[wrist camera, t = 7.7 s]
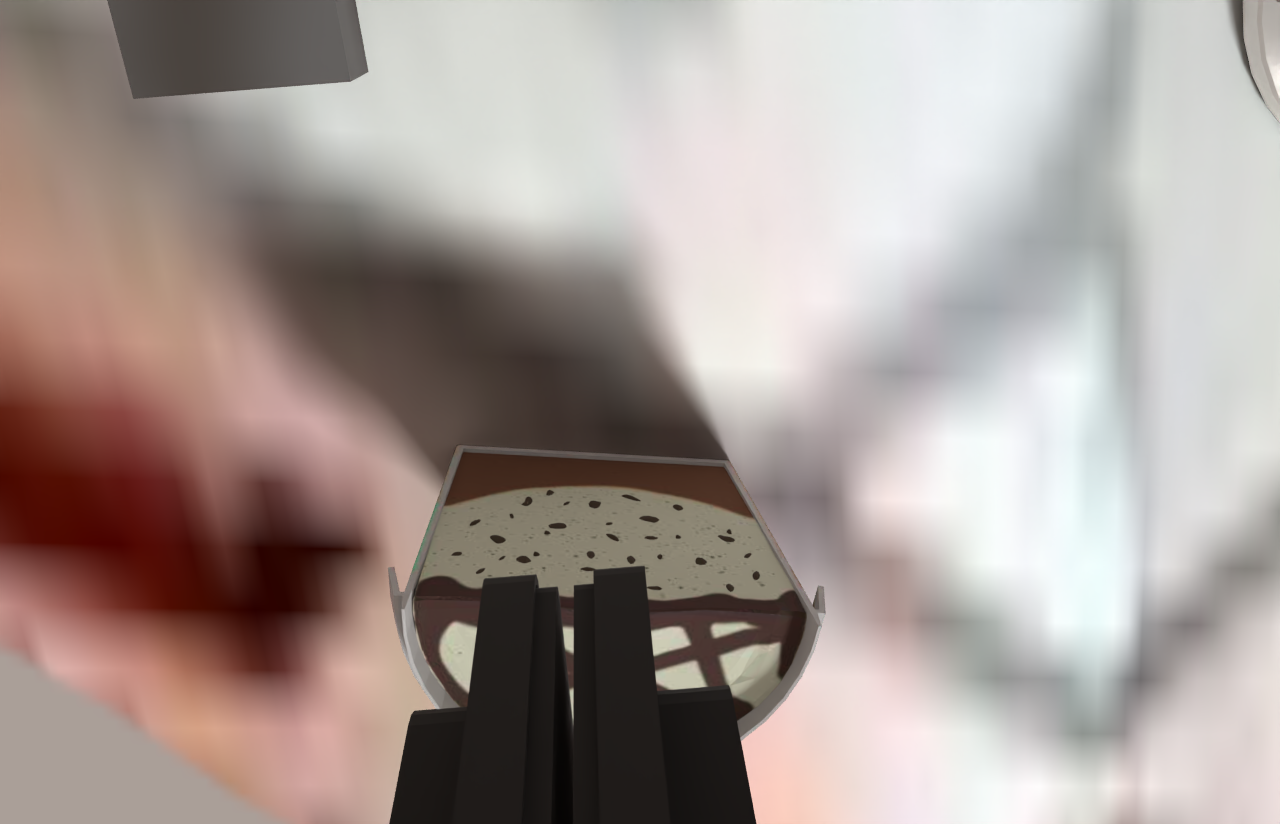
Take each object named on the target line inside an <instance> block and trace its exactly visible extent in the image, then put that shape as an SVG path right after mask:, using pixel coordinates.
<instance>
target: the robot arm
mask: <svg viewBox="0 0 1280 824" xmlns="http://www.w3.org/2000/svg"><path fill="white" fill-rule="evenodd" d="M1243 32H1244V42H1245V46H1246V51H1247V55H1248V60H1249V64H1250V69H1251V73H1252V76H1253V78H1254V80H1255V82H1256V84H1257V87H1258V89H1259V91H1260V93H1261V95H1262V97H1263V100H1264V102H1265V104H1266V106H1267V107H1268V108H1269V110H1270V111H1271V112H1272V114H1273V115H1274V116H1275V117H1276V119H1277V120H1278V121H1279V122H1280V0H1243ZM593 582H594V584H581V585H574V690H573V718H572V708H571V699H570V690H569V681H568V671H567V662H566V653H565V644H564V634H563V625H562V616H561V607H560V598H559V591H558V587H544V588H539V583H538V578H537V575H536V574H533V575H520V576H508V577H496V578H485V579H484V580H483V585H482V593H481V600H480V608H479V616H478V624H477V632H476V640H475V648H474V656H473V663H472V671H471V679H470V687H469V695H468V703H467V707H456V708H444V709H432V710H419V711H414V712H413V714H412V715H411V718H410V721H409V725H408V730H407V735H406V740H405V745H404V750H403V756H402V761H401V766H400V771H399V776H398V782H397V787H396V792H395V797H394V802H393V808H392V813H391V818H390V823H389V824H756V819H755V814H754V809H753V803H752V798H751V793H750V787H749V782H748V777H747V771H746V766H745V761H744V755H743V750H742V745H741V739H740V734H739V729H738V723H737V718H736V713H735V708H734V702H733V697H732V693H731V689H730V687H729V685H723V686H711V687H699V688H687V689H675V690H663V691H657V685H656V675H655V665H654V655H653V644H652V634H651V624H650V614H649V604H648V594H647V584H646V574H645V566H633V567H620V568H608V569H595V570H593Z"/></svg>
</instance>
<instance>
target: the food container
mask: <svg viewBox="0 0 1280 824" xmlns="http://www.w3.org/2000/svg"><path fill="white" fill-rule="evenodd" d="M633 566H645V574H646V584H647V594H648V604H649V614H650V624H651V634H652V644H653V655H654V665H655V675H656V685H657V691H663V690H675V689H687V688H699V687H711V686H723V685H729V687H730V689H731V693H732V697H733V702H734V708H735V713H736V718H737V723H738V729H739V734H740V739H741V740H743V739H744V738H745V737H747V736H748V735H749V734H750V733H752V732H753V731H754V730H755V729H757V728H758V727H759V726H760V725H762V724H763V723H764V722H765V721H766V720H767V719H768V718H769V717H770V716H771V715H772V714H773V713H774V712H775V711H776V710H777V709H778V708H779V706H780V705H781V704H782V703H783V702H784V701H785V700H786V699H787V697H788V696H789V694H790V693H791V691H792V690H793V689H794V687H795V686H796V684H797V683H798V681H799V680H800V678H801V677H802V675H803V673H804V671H805V669H806V667H807V665H808V663H809V661H810V659H811V657H812V655H813V653H814V650H815V647H816V644H817V640H818V637H819V633H820V630H821V627H822V623H823V620H824V617H825V600H824V587H822V586H818V588H817V592H816V595H815V599H814V602H813V605H812V603H811V602H810V600H809V598H808V596H807V595H806V593H805V591H804V590H803V588H802V586H801V584H800V583H799V581H798V579H797V577H796V576H795V574H794V572H793V570H792V569H791V567H790V565H789V563H788V562H787V560H786V558H785V556H784V555H783V553H782V551H781V549H780V548H779V546H778V544H777V542H776V541H775V539H774V537H773V536H772V534H771V532H770V530H769V529H768V527H767V525H766V523H765V522H764V520H763V518H762V516H761V515H760V513H759V511H758V509H757V508H756V506H755V504H754V502H753V501H752V499H751V497H750V495H749V494H748V492H747V490H746V489H745V487H744V485H743V483H742V482H741V480H740V478H739V476H738V475H737V473H736V471H735V469H734V468H733V466H732V464H731V462H730V461H728V460H711V459H693V458H676V457H658V456H641V455H624V454H606V453H589V452H571V451H554V450H536V449H519V448H501V447H484V446H466V445H457V447H456V450H455V452H454V455H453V458H452V461H451V463H450V466H449V469H448V472H447V475H446V477H445V480H444V483H443V486H442V489H441V491H440V494H439V497H438V500H437V503H436V505H435V508H434V511H433V514H432V517H431V519H430V522H429V525H428V528H427V530H426V533H425V536H424V539H423V542H422V544H421V547H420V550H419V553H418V556H417V558H416V561H415V564H414V567H413V570H412V572H411V575H410V578H409V581H408V584H407V586H406V589H405V592H400V591H399V587H398V582H397V578H396V573H395V568H394V567H389V568H388V572H389V584H390V596H391V601H392V607H393V612H394V617H395V622H396V626H397V630H398V634H399V638H400V642H401V646H402V650H403V653H404V655H405V657H406V659H407V661H408V664H409V666H410V668H411V670H412V672H413V674H414V677H415V678H416V680H417V681H418V683H419V684H420V686H421V687H422V689H423V690H424V692H425V693H426V695H427V696H428V698H429V699H430V700H431V702H432V703H433V705H434V706H435V708H436V709H444V708H456V707H467V703H468V695H469V687H470V679H471V671H472V663H473V656H474V648H475V640H476V632H477V624H478V616H479V608H480V600H481V593H482V585H483V580H484V579H485V578H496V577H508V576H520V575H533V574H536V575H537V578H538V583H539V588H544V587H558V591H559V598H560V607H561V616H562V625H563V634H564V644H565V653H566V662H567V671H568V681H569V690H570V699H571V708H572V718H573V690H574V585H581V584H594V582H593V570H595V569H608V568H620V567H633Z"/></svg>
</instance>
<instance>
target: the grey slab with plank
mask: <svg viewBox="0 0 1280 824" xmlns="http://www.w3.org/2000/svg"><path fill="white" fill-rule="evenodd" d="M107 1H108V4H109V8H110V12H111V16H112V20H113V23H114V27H115V31H116V35H117V38H118V42H119V46H120V50H121V54H122V57H123V61H124V65H125V69H126V72H127V76H128V80H129V84H130V88H131V91H132V95H133V99H136V98H149V97H161V96H174V95H187V94H199V93H212V92H225V91H237V90H250V89H262V88H275V87H288V86H300V85H313V84H326V83H338V82H351V81H352V80H354V79H356V78H358V77H360V76H362V75H363V74H365V73H367V72H368V68H367V62H366V57H365V51H364V46H363V40H362V35H361V29H360V24H359V18H358V13H357V7H356V2H355V0H107Z"/></svg>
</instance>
